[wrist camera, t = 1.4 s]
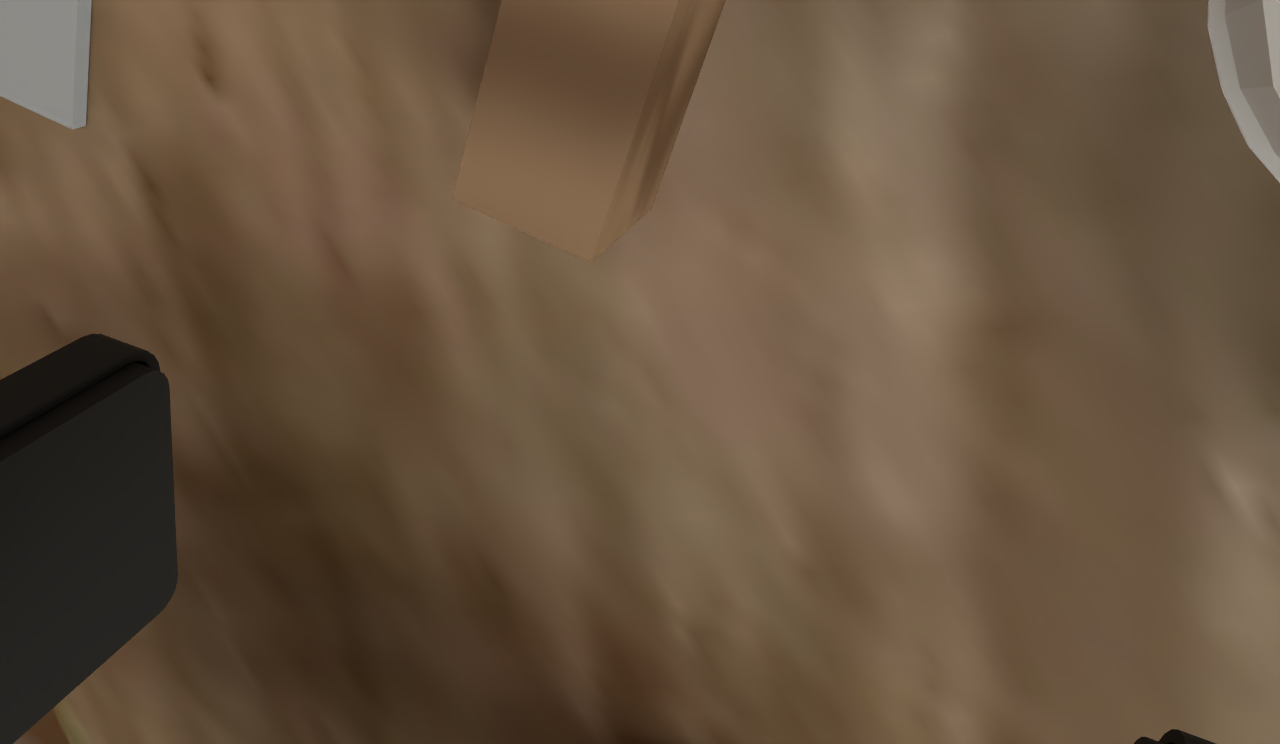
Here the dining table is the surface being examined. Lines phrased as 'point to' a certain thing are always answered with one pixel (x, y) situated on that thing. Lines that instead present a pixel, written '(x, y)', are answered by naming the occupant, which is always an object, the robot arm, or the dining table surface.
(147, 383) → the robot arm
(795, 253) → the dining table surface
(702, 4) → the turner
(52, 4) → the rest
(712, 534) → the dining table surface
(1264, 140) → the disposable coffee cup
